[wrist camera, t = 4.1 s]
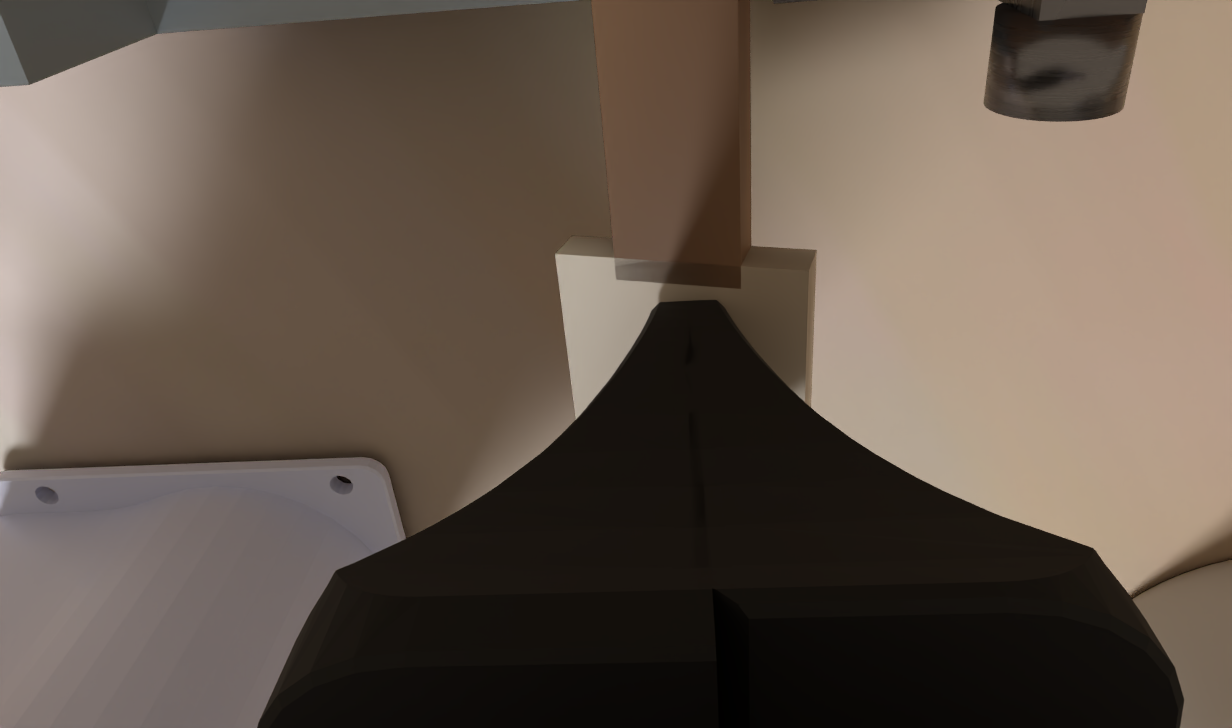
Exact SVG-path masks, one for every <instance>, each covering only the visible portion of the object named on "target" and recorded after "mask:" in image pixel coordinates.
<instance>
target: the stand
mask: <svg viewBox="0 0 1232 728" xmlns="http://www.w3.org/2000/svg"><path fill="white" fill-rule="evenodd" d="M802 1H815V0H772V2H773V3H774V4H776V3H789V2H802ZM999 1H1001V2H1003V3H1001V4H999V5H997V6H996V9H995V17H994V25H993V33H992V41H991V49H990V57H989V64H988V72H987V80H986V88H985V96H984V105H985V107H986V108H988V109H989V110H991V111H993V112H995V113H998V114H1001V115H1005V116H1009V117H1014V118H1020V119H1027V120H1036V121H1082V120H1091V119H1098V118H1103V117H1107V116H1110V115H1113V114H1116V113H1118V112H1120V111H1121V110H1122V109H1123V107H1124V103H1125V98H1126V93H1127V88H1128V84H1129V79H1130V74H1131V69H1132V64H1133V59H1134V54H1135V50H1136V45H1137V40H1138V35H1139V30H1140V25H1141V20H1142V16H1143V13H1144V12H1145V7H1146V3H1147V0H999Z"/></svg>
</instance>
